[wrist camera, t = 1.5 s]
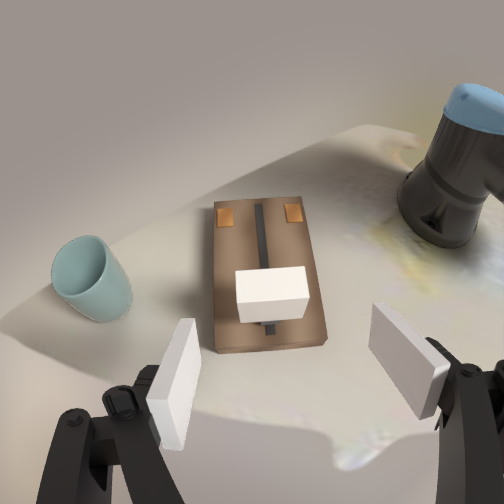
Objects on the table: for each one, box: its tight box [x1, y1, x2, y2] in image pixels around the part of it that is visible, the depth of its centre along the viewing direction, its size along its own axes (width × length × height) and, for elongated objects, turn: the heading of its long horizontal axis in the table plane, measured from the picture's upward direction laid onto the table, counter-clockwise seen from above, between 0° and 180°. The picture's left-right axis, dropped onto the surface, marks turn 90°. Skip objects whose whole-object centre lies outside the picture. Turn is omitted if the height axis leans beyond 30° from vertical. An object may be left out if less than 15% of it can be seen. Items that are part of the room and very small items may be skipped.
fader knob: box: [235, 266, 310, 325], centre depth 29 cm, size 6×3×8 cm, turn 94°
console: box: [214, 196, 328, 354], centre depth 37 cm, size 12×20×3 cm, turn 4°
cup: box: [51, 236, 132, 323], centre depth 33 cm, size 8×8×10 cm
